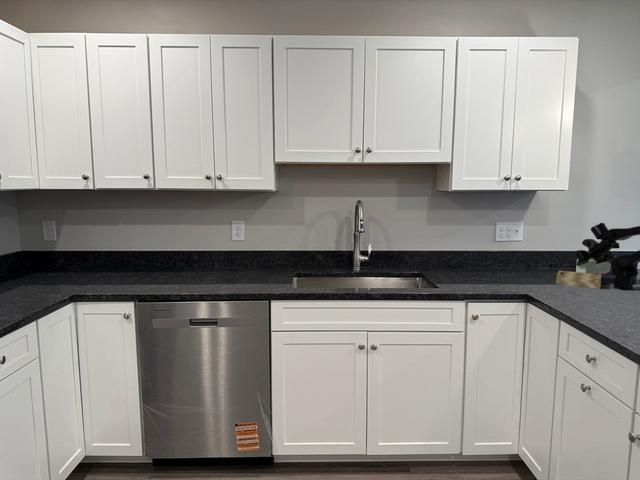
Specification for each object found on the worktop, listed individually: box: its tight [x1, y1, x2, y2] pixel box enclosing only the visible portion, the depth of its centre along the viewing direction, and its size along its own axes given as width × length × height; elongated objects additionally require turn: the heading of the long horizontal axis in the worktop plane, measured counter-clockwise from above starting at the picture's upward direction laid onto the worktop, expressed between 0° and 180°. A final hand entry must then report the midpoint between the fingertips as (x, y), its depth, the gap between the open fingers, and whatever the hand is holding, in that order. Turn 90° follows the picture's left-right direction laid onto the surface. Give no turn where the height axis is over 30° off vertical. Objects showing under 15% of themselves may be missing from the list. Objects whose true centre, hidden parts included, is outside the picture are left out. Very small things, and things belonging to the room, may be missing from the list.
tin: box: [590, 258, 612, 275], centre depth 228 cm, size 15×3×8 cm, turn 84°
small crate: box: [575, 258, 596, 274], centre depth 214 cm, size 6×6×10 cm
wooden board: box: [555, 270, 602, 290], centre depth 203 cm, size 18×14×4 cm
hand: (583, 265), depth 215 cm, fingers open, 8 cm apart
